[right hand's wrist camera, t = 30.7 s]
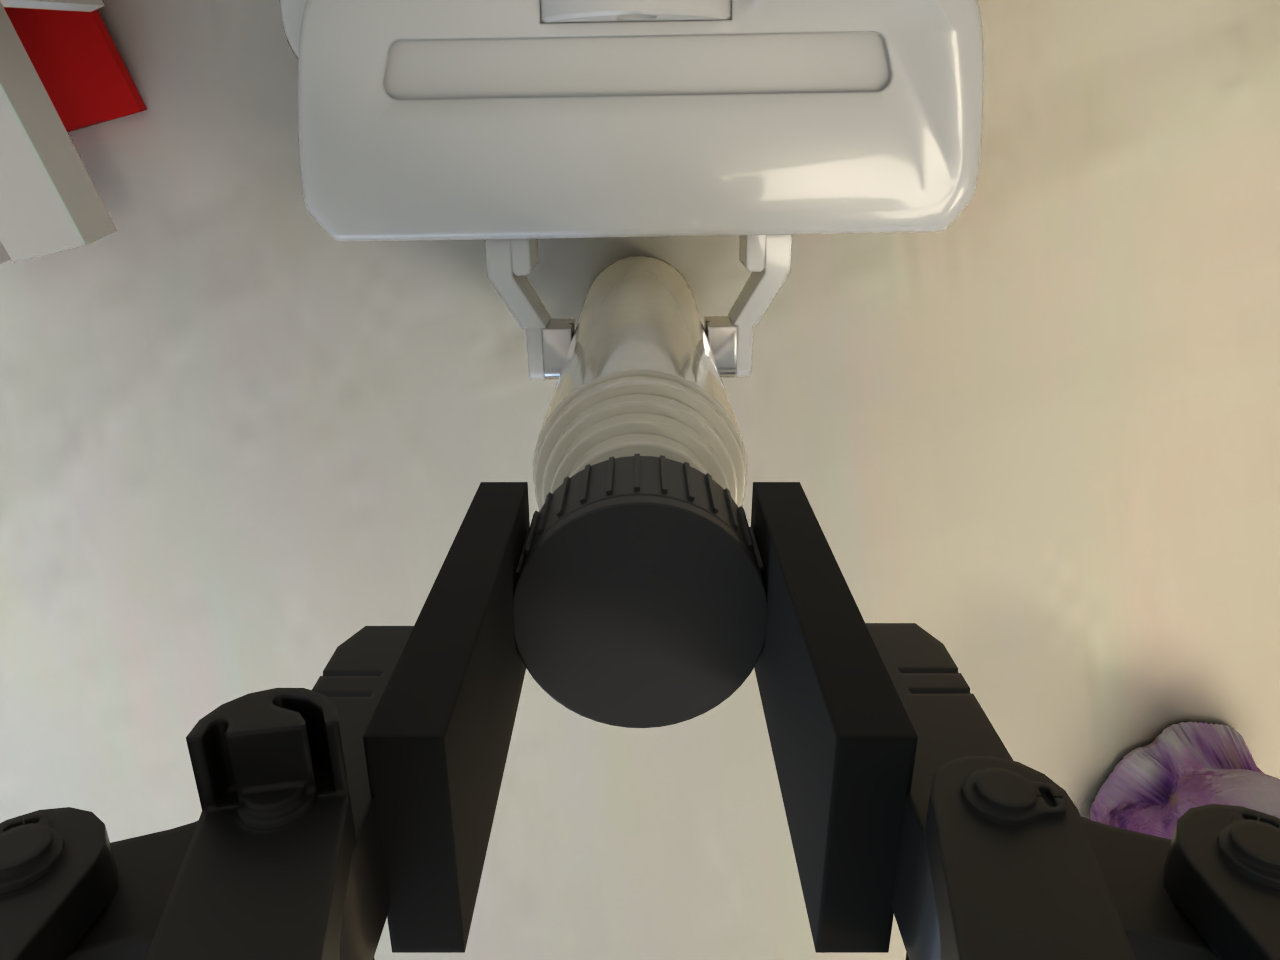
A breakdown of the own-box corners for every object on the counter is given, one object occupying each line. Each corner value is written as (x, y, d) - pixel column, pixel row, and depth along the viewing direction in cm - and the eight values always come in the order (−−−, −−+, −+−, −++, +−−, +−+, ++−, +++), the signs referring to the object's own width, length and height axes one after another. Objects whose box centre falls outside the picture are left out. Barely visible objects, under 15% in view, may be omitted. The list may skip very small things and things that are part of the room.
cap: (589, 409, 14) (582, 451, 12) (801, 518, 14) (824, 574, 12) (485, 601, 15) (463, 667, 13) (684, 693, 16) (690, 768, 14)
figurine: (1207, 674, 42) (1494, 944, 28) (1297, 808, 44) (1598, 1115, 30) (1032, 775, 44) (1216, 1074, 30) (1128, 897, 47) (1338, 1222, 33)
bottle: (701, 262, 35) (808, 471, 13) (687, 371, 37) (761, 725, 14) (589, 250, 35) (501, 441, 13) (580, 360, 36) (488, 701, 14)
